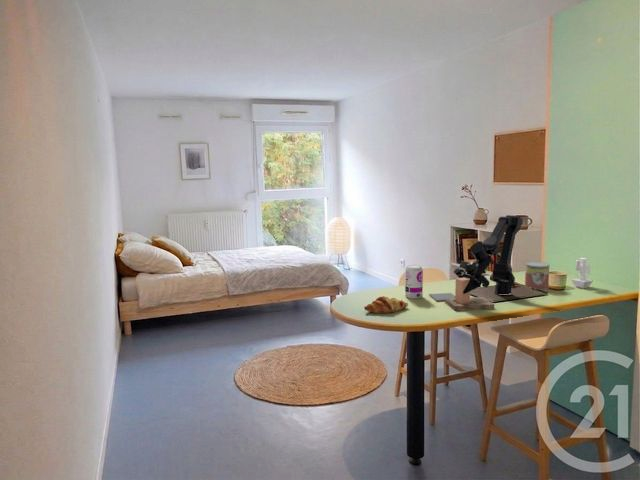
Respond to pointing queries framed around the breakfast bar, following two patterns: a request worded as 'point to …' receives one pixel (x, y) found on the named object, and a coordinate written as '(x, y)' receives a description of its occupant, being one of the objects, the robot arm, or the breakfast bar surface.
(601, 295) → the breakfast bar surface
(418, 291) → the supplement can
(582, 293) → the breakfast bar surface
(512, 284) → the sunglasses case
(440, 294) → the slate pad
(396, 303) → the croissant
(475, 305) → the puzzle board
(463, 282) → the terracotta block
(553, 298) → the breakfast bar surface
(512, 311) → the breakfast bar surface
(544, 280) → the canned food
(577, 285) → the figurine
